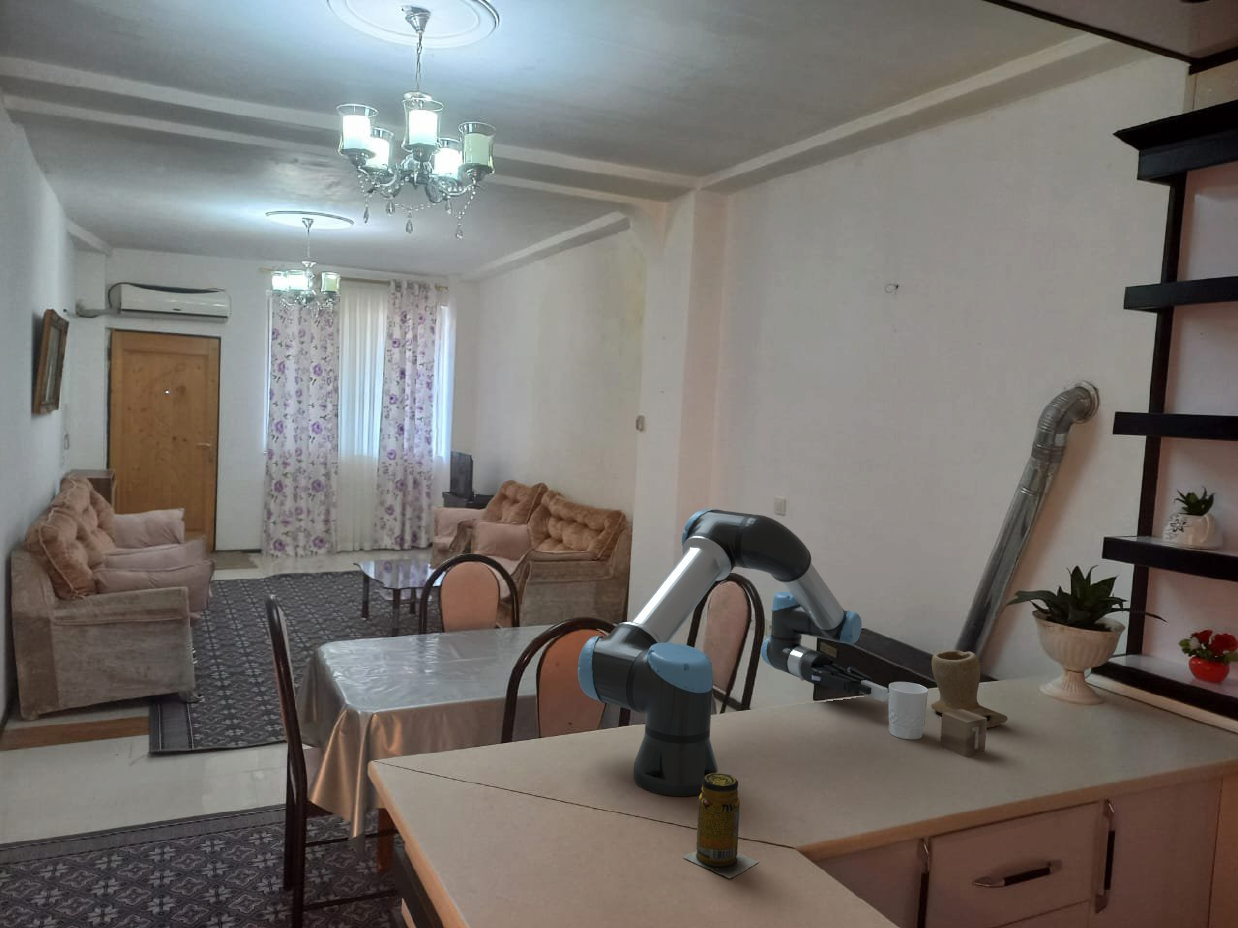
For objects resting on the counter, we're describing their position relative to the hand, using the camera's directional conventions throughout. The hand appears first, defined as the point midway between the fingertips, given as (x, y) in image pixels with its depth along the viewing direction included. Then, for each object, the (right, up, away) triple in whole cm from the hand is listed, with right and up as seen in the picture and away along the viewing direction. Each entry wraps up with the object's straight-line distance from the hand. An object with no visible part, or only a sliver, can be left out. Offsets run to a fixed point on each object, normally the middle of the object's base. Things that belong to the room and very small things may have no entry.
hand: (885, 694), depth 192 cm
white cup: (+3, -7, -5) cm, 9 cm away
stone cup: (+19, -7, +6) cm, 21 cm away
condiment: (-43, -9, -62) cm, 75 cm away
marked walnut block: (+12, -8, -13) cm, 19 cm away
